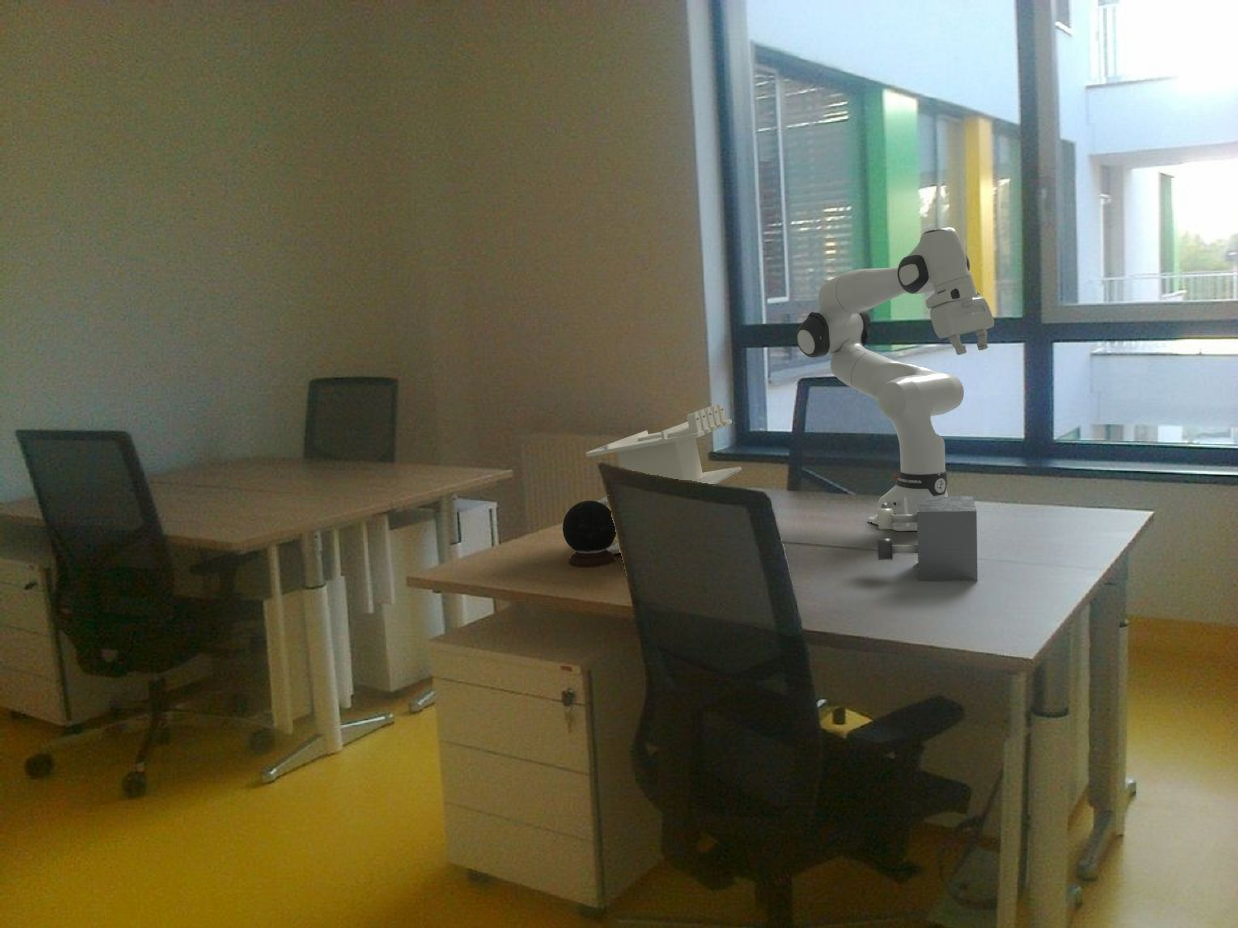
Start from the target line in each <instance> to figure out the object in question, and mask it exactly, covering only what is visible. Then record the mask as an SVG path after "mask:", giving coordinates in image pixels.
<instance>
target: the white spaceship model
mask: <svg viewBox="0 0 1238 928" xmlns="http://www.w3.org/2000/svg"><path fill="white" fill-rule="evenodd" d="M686 418H687V419H686V420H687V421H685V422H683V423H680V424H678V425H675V426H672V427H670V428H669V427H668V428H666V429H663V430H662V431H659V432H654V433H653V432H652V433H648V430H644V431H643V430H642V431H641V432H638V433H636V434H633V435H630V436H627V437H625V438H621V439H619V440H615V441H614V442H611V443H608V444H605V445H603V446H600V447H597V448H595V449H592V450H589V451H587V452H585V457H597V456H601V455H607V454H612V453H617V457H618V463H619V467H620V468H621V467H623V468H626V469H629V470H632V471H639V472H643V473H646V474H650V475H659V476H663V477H668V478H673V479H679V480H692V481H697V482H702V483H708V484H715V485H717V484H719V483H721V482H723V481H724V480H725V479H728V478H730V477H732V476H733V475H736V474H737V473H739V472H741V471H742V469H743V468H742V466H736V467H730V468H724V469H723V468H722V469H718V470H711V471H705V472H703V469H702V463H701V458H700V454H699V450H698V443H697V438H701V437H703V436H705V434H710V433H711V432H713V431H714V432H715V431H716V430H718V429H722V428H723V427H726V426H728V425H730V424H732V423H733V421H732V418H730V419H727V418H726V413H725V408H724V405H723V403H717V404H716V403H715V404H712V405H711V406H707V407H706V408H701V409H700V410H696V411H694V412H692V413H688V414H687V416H686ZM607 496H608V495H606V496H603V497H602V498H599V499H598V500H596V501H597V502H599V503H602V504H604V505H605V506H607V505H609V504H608V500H607ZM607 550H608V551H609V552H611V553H612V554H613V555H615V554H621V553H620V552H619V546H618V542H616V543H614V544H613V545H610V547H608V548H607Z"/></svg>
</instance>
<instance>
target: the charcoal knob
mask: <svg viewBox="0 0 1238 928" xmlns="http://www.w3.org/2000/svg"><path fill="white" fill-rule="evenodd" d="M893 542H894V541H893V537H892V538H891V537H890V538H884V537H883V538H882V537H881V538H879V537H878V538H877V558H878V560H879V561H881V560H882V561H885V560H887V561H888V560H891V561H893V560H894V558H893V557H894V554H918V544H893Z"/></svg>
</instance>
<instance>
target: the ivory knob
mask: <svg viewBox="0 0 1238 928" xmlns="http://www.w3.org/2000/svg"><path fill="white" fill-rule="evenodd" d="M893 523H917V514H904V515H893V514H892V508H878V525H877V526H878V530H893Z"/></svg>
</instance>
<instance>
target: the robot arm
mask: <svg viewBox="0 0 1238 928" xmlns="http://www.w3.org/2000/svg"><path fill="white" fill-rule="evenodd" d="M965 251H966V250H965V249H964V246H963V243H962V240H961V238H960V236H959V234H958V232H957V231H956V230H955V229H954V227H949V226H946V227H939V228H935V229H930V230H927V231H925V232H923V233H922V234H921V235H920V239H919V242H918V244H917V245H916V247H914V249H912V251H911V252H910V253H908V255H907V256H904V257H903V258H902V259H901V260H900V262H899V264H898V267H883V268H882V267H880V268H876V267H874V268H862V269H861V268H860V269H853V270H850V271H847V272H843V273H841V274H838V275H837V276H835V277H833V278H831V279H830V280H828V281H826V282H825V283H823V285H822V286H821V287H820V289H819V292H818V304H819V308H818V310H817V311H816V312H814V311H813V312H812V311H811V312H809V314H808V315H807V317H806V318H805V320H804V321H803V322H802V323H801V324H800V325H799V327H798V328H797V330H796V335H795V336H796V338H795V339H796V344H797V346H798V348H799V350H800V351H801V352H802V353H803V355H805V356H806V357H807V358H811V359H812V358H821V357H824V356H826V355H828V354H831V358H830V363H829V364H830V367H829V368H830V370H831V374H832V375H833V376H834V377H835V378H837V380H839V381H840V382H842V383H843V384H845V385H846V386H848V387H850V388H851V389H853V390H856V391H858V392H860V393H862V394H864V395H866V396H868V397H871V398H873V399H875V400H876V401H877V403H878V408H879V410H880V412H881V413H882V415H883V416H884V417H886V418H887V419H888V420H889V421H890V422H891V424H892V426H893V428H894V430H895V432H896V435H897V440H898V444H899V457H900V460H899V461H900V471H899V472H896V473H892V474H893V476H892V478H893V479H896V482H895V485H894V486H893V487H892V488H890V489H889V490H888V491H887V492H886V493H884V494H883V495H882V496H881V497H879V500H878V502H877V507H876V509H877V510H876V511H877V512H876V514H874V515H872V516H869V517H868V518H867V519H868V520H867V522H868V523H871V522H872V524H874V525H876V526H878V508H892V514H893V515H904V514H917V497H949V496H948V491H947V486H948V478H949V477H948V471H947V470H946V443H945V440H944V438H943V437H942V435H941V436H940V435H939V434H938V433H936V431H935V429H934V426H933V424H932V419H931V417H935V416H940V415H944V414H947V413H949V412H951V411H953V410H955V409H956V408H958V407H959V406H960V405H961V404H962V402H963V399H964V396H965V392H964V391H965V389H964V385H963V383H962V381H961V379H960V378H959V377H958V376H956V375H955V374H953V373H948V372H943V371H938V370H934V369H933V370H932V369H930V368H926V367H922V366H918V365H914V364H910V363H904V362H901V361H897V360H895V359H892V358H889V357H887V356H884V355H883V354H879V353H877V352H875V351H872V350H870V349H867V348H865V346H866V345H867V343H868V342H869V340H870V336H869V335H870V333H871V328H872V326H871V323H872V320H871V319H872V318H871V316H870V313H869V312H868V311H869V310H871V309H874V308H876V307H878V306H880V305H882V304H884V303H886V302H889V301H890V300H893V299H894V298H897V297H900V296H902V295H903V294H906V293H907V294H911V295H912V294H913V295H915V294H916V295H917V294H924V293H928V292H934V293H932V295H930V296H929V297H928V298H927V299H925V306H926V308H927V309H929V310H930V311H929V317H930V321H931V324H932V327H933V330H934V332H935V335H936V336H937V337H938V338H939V339H943V338H945V339H946V338H948V341H949V343H950V344H951V345H952V347H953V348H954V349H955V353H956V355H957V356H961V355H963V354H966V353H967V349H966V348H967V347H966V345H965V344H964V345H963V343H962V341H961V335H965V334H971V333H975V336H976V337H977V342H978V343H976V346H977V349H978V351H984V350H987V349H989V346H988V342H987V339H988V338H987V337H988V331H987V330H988V329H991V328H993V327H994V326H995V319H994V316H993V313H992V311H991V309H990V306H989V304H988V302H987V301H988V300H986V299H985V298H984V297H983V296H982V295H981V294H980V293H979V292H977V289H976V286H975V283H974V279H973V275H972V274H971V272H970V267H971V266H970V265H971V264H970V259H969V257H968V256H967V255H968V254H966V252H965ZM892 530H893V531H896V532H897V531H898V532H907V531H908V532H909V531H916V532H917V523H893V529H892Z"/></svg>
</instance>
